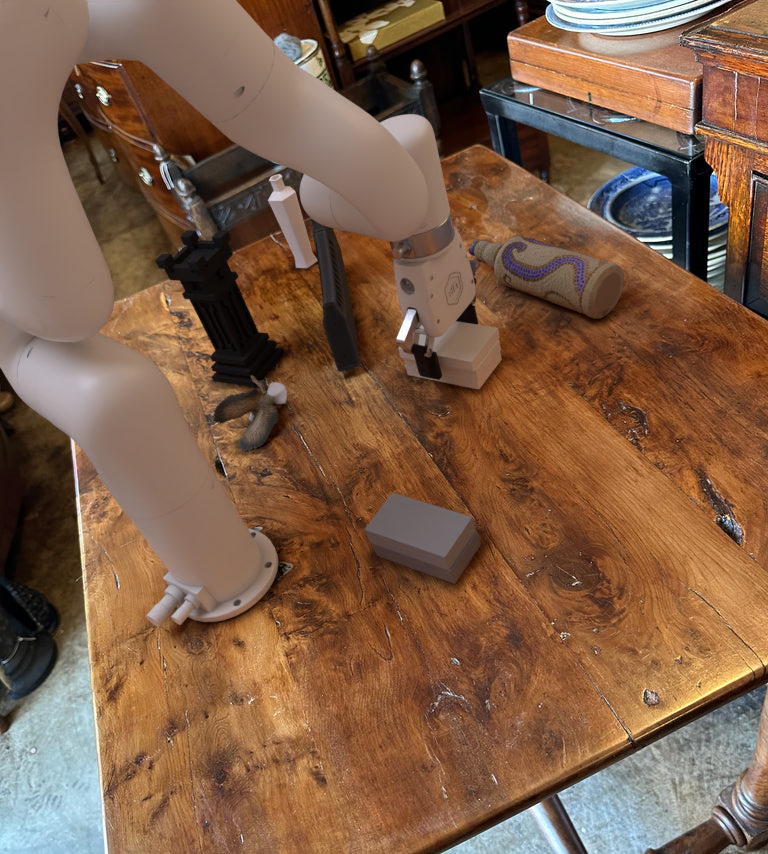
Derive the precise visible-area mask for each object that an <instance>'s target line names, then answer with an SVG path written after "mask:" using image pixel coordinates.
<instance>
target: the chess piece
mask: <svg viewBox="0 0 768 854" xmlns="http://www.w3.org/2000/svg"><path fill="white" fill-rule="evenodd" d="M179 239H180V240H181V242H182V244H183V247H182V248H181V249H180V250H179V251H178V252H177V253H176V254H175V255H174V256H173V255H172V253H161V254H160V255H159V256H158V257H157V258H156V259H155V260H154V261H155V263H156V265H157V268H158V269H160V270H164V272H165V273H166V275H167V277H168V279H169V281H179V282H180V284H181V286H182V288H183V290H184V291H183V292H182V293H181V295H182V297H183V299H184V300H189V302H190V304H191V305H192V308H193V309H194V312H195V314H196V315H197V317H198V320H199V321H200V324H201V325H202V327H203V329H204V331H205V334H206V335H207V338H208V339H209V341H210V343H211V345H212V347H213V349H214V352H213V353H212V354H211V355H210V356H209V358H210V360H211V362H214V363H213V364H212V365H211V366H210V369H211V370H212V372H213V373H214V374H213V375H211V379H212V381H213V382H217V383H224V384H231V385H238V386H245V387H251V388H257V387H258V385H257V384H256V383H254V382H253V380H252V379H251V375H252V376H254V377H255V378H256V379H257V380H258V381H259V382H260V381H262V380H264V378H265V376H267V375H268V373H269V372H270V371H271V369H272V368H273V367H274V366H275V365H276V363H277V362H278V361H279V360H280V358H281V357H282V356H283V355H284V354H285V350H284V348H283V347H277V346H278V344H277V341H276V340H273V339H270V335H269V332H260V331H259V329H258V327H257V325H256V323H255V321H254V318H253V316H252V314H251V312H250V310H249V307H248V306H247V303H246V301H245V298H244V297H243V296H244V295H243V294H242V291H241V290H240V287H239V285H238V282H237V281H236V280H237V279H239V275H238V273H237V271H232V269H231V267H230V264H229V263H228V261H229V259H230V258H231V257H233V256H234V253H233V251H232V248H231V246H230V244H229V243H230V242H231V240H232V238H231V236H230V234H229V231H228V230H218V231H217V232H216V233H215V234H214V235H212V236H211V240H206V239H205V240H204V239H200V237H199V234H198V232H197V230H191V229H189V230H188V229H187V230H186V231H184V232H183V233H182V234H181V235H180V236H179Z"/></svg>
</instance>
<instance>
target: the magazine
mask: <svg viewBox="0 0 768 854" xmlns="http://www.w3.org/2000/svg"><path fill="white" fill-rule="evenodd" d="M310 219H311V223H312V229H311V233H312V238H313V244H314V249H315V254H316V259H317V266H318V267H317V268H318V272H319V273H318V274H319V280H320V289H321V299H322V306H321V308H322V327H323V331H324V333H325V337H326V340H327V342H328V345H329V349H330V351H331V355H332V357H333V361H334V364H335V367H336V370H337V372H338V373H343V372H344V373H347V372H350V371H353V370H356V368H360V367H361V366H362V362H361V360H360V359H361V358H360V353H359V343H358V336H357V329H356V323H355V322H356V321H355V316H354V315H355V314H354V309H353V304H352V299H351V298H352V297H351V293H350V289H349V283H348V278H347V273H346V267H345V263H344V262H345V261H344V258H343V254H342V249H341V246H340V243H339V241H338V238H337V235H336V232H335V231H334V228H330V227H327V226H324V225H321V224H319V223H317V222H316V221H314V220H313V219H312V218H310Z"/></svg>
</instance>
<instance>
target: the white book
mask: <svg viewBox="0 0 768 854" xmlns="http://www.w3.org/2000/svg"><path fill="white" fill-rule="evenodd" d="M420 329H424V327H423V326H422V325H421V326H420ZM499 339H500V331H499V328H498V327H496V326H490V325H483V324H479V325H477V324H471V323H464V322H458V321H455V322H454V323H453V325H452V326H451V327H450V328H449V329H448V330H447V331H446V332H445V333H444V334H443V335H442V336H440V337H435V339H434V345H433V351H434V352H436V353H437V356H438V360H439V364H440V366H445V367H450V368H456V369H461V370H466V371H471V372H474V371H475V369H476V368H477V367H478V365H479V364H480V363H481V361H482V360H483V359H484V358H485V356H486V355H487V354H488V352H489V351H490V350H491V349H492V347H493V346H494V345H495V343H496V342H497V341H498V340H499ZM425 340H426V335H424V334H420V337H419V343H418V345H422V346H425ZM499 341H500V340H499ZM397 351H398V353H399V354H398V355H399V356H400V359H409V360H414V361H415V358H414V355H413V354H409V353H405V352H404V351H403V349H402V348H401V347H400V346H398V348H397Z"/></svg>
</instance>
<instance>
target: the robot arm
mask: <svg viewBox="0 0 768 854" xmlns="http://www.w3.org/2000/svg"><path fill="white" fill-rule="evenodd" d="M112 60H118V61H135V62H140V63H142V65H144V66H146V67H148V68H149V69H150V70H151V71H152V72H153V73H154V74H156V75H157V76H158V77H159V78H160V79H161V80H162V81H163V82H164V83H166V84H167V85H168V86H169V87H170V88H172V89H173V90H174V91H175V92H176V93H177V94H178V95H179V96H181V97H182V98H183V99H184V100H185V101H186V102H187V103H188V104H190V105H191V106H192V107H193V108H194V109H195V110H197V111H198V113H200V114H201V115H202V116H203V117H204V118H205V119H207V121H209V122H210V123H211V124H212V125H213V126H214V127H215V128H217V130H218V131H220V133H222V135H224V136H226V137H227V138H228V140H230V141H231V142H233V143H234V144H236V145H238V146H239V147H241V148H242V149H244V150H246V151H248V152H251V153H252V154H255V155H256V156H258V157H259V158H263V159H265V160H267V161H269V162H271V163H272V162H273V163H275V164H278V165H280V166H284V167H286V168H289V169H292V170H294V171H296V172H298V173H301V174H303V175H302V178H301V180H300V184H299V185H300V186H299V197H300V198H299V200H300V202H301V206H302V208H303V210H304V211H305V213H306V214H307V216H308V217H309V218H310V219H313V220H314V221H316V222H317V223H319V224H321V225H324V226H327V227H330V228H333V230H334V229H335V230H338V231H343V232H347V233H352V234H357V235H362V236H366V237H369V238H373V239H376V240H381V241H385V242H389V246H390V250H391V252H390V253H391V256H392V257H393V260H392V262H393V271H394V272H393V273H394V280H395V281H394V282H395V286H396V292H397V297H398V303H399V306H400V310H401V315H402V318H403V321H402V323H401V326H400V329H399V330H398V334H397V337H396V339H395V343H396V344H397V346H398V347H399V346H400V347H401V348H402V349H403V351H404V352H405V353H409V354H413V355H414V358H415V361H416V365H417V368H418V372H419V375H420V376H422V377H427V378H432V379H437V380H440V378H441V377H442V372H441V368H440V364H439V360H438V356H437V353H436V352H434V351H433V345H434V339H435V337H440V336H442V335H443V334H444V333H445V332H446V331H447V330H448V329H449V328H450V327H451V326H452V325H453V323H454V322H455V321H458V322H464V323H471V324H477V325H480V324H479V319H478V315H477V314H478V313H477V309H476V305H475V304H476V302H477V296H476V294H477V293H476V292H477V289H476V285H477V278H476V277H475V276H476V268H477V267H476V266H477V262H476V261H477V260H476V259H475V260H474V259H470V258H469V256H468V253H467V250H466V247H465V243H464V241H463V238H462V236H461V234H460V232H459V229H458V228H457V227H456V226H455V225H454V222H453V217H452V212H451V207H450V203H449V197H448V192H447V187H446V184H445V183H446V182H445V178H444V174H443V169H442V165H441V164H442V163H441V159H440V155H439V150H438V144H437V140H436V136H435V131H434V128H433V126H432V124H431V122H430V121H429V120H428V119H427V118H426V117H424V116H423V115H420V114H415V113H414V114H413V113H408V114H400V115H396V116H392V117H389V118H386V119H385V120H382V121H381V122H379V120H377V119H376V118H375V117H374V116H372V115H371V114H370V113H368V112H367V111H365V110H364V109H363V108H362V107H360V106H359V105H357V104H355V103H354V102H352V101H351V100H350V99H348V98H346V97H345V96H344V95H342V94H340V93H339V92H338V91H336V90H335V89H333V88H332V87H330V86H329V85H328V84H326V82H324V81H322V80H320V79H319V78H318V77H317V76H314V75H313V74H311V73H309V72H308V71H306V70H305V69H303V68H302V67H300V66H299V65H297V64H296V63H295V62H294V61H293V60H292V59H291V58H290V57H288V56H287V55H286V53H284V51H283V50H282V49H281V48H280V47H279V46H278V45H277V43H276V42H275V41H274V40H273V39H272V38H271V37H270V35H268V34H267V33H266V31H264V30H263V29H262V28H261V26H260V25H259V24H258V23H257V22H256V21H255V20H254V18H252V17H251V15H250V14H249V13H248V12H247V10H245V9H244V8H243V6H242V5H241V4H240V3H239V2H238V1H237V0H0V369H1V371H2V373H3V374H4V376H5V378H6V380H7V381H8V383H9V384H10V386H11V387H12V389H13V390H14V392H15V393H16V395H17V396H18V397H19V398H20V399H21V400H22V401H23V403H24V404H26V405H27V406H28V407H29V408H30V409H32V410H33V411H34V412H36V413H37V414H38V415H40V416H41V417H43V418H44V419H45V420H47V421H49V423H51V424H52V425H53V426H55V428H57V429H58V430H60V431H62V432H63V433H64V434H66V435H67V436H68V437H69V438H70V439H71V440H73V441H74V443H75V444H76V445H77V446H78V447H79V448H80V449H81V450H82V451H83V453H84V454H85V455H86V456H87V458H88V459H89V461H90V463H91V464H92V466H93V467H94V469H95V471H96V473H97V475H98V476H99V478H100V480H101V482H102V484H103V485H104V486H105V488H106V489H107V491H108V492H109V494H110V495H111V496H112V498H113V499H114V500H115V502H116V503H117V504H118V506H119V507H120V508H121V510H122V511H123V512H124V513H125V514H126V516H127V517H128V519H129V520H130V521H131V522H132V524H133V525H134V526H135V528H136V529H137V531H139V533H140V535H141V536H142V537H143V539H144V540H145V541H146V542H147V545H149V547H150V548H151V549H152V551H153V552H154V554H155V555H156V556H157V557H158V559H159V560H160V561H161V563H162V564H163V566H164V567H165V568H166V570H167V573H166V574H165V575H164V576H163V577H162V579H163V580H164V582H165V583H166V585H168V586H167V587H166V588H165V590H164V591H163V594H164V596H163V597H162V599H160V600H159V602H158V603H156V604H155V605H154V606H153V607H152V608H151V609H150V610H149V611H148V613H147V614H146V615H145V618H146V619H147V620H148V621H149V622H150V623H151V624H152V625H154V626H156V628H161V627H162V626H163V624H164V623H165V622H166V621H167V620H168V619H169V618H171V620H172V621H173V622H174V623H176V625H179V626H181V625H183V623H184V622H185V621H186V620H187V618H188V619H191V620H194V621H197V622H203V623H215V622H221V621H225V620H228V619H231V618H234V617H237V616H238V615H241V614H243V613H244V612H246V611H247V610H249V609H250V608H252V607H253V606H254V605H255V604H257V603H258V602H259V601H260V600H261V599H262V598H263V597H264V596H265V595H266V593H267V592H268V591H269V590H270V588H271V586H272V585H273V583H274V581H275V578H276V576H277V573H278V570H279V555H278V553H277V549H276V548H275V546H274V544H273V542H272V541H271V539H269V537H268V536H266V535H265V534H264V533H262V532H261V531H259V530H256V529H253V528H248V526H247V525H246V523H245V522H244V520H243V518H242V517H241V515H240V513H239V512H238V510H237V508H236V506H235V504H234V502H233V501H232V499H231V498H230V496H229V494H228V493H227V491H226V489H225V487H224V486H223V484H222V482H221V481H220V479H219V477H218V476H217V474H216V472H215V471H214V468H212V466H211V463H210V462H209V460H208V458H207V457H206V456H205V453H204V452H203V450H202V449H201V447H200V446H199V444H198V442H197V440H196V439H195V437H194V435H193V433H192V430H191V429H190V427H189V424H188V422H187V421H186V418H185V415H184V413H183V410H182V407H181V405H180V402H179V399H178V395H177V394H176V392H175V389H174V387H173V385H172V383H171V382H170V380H169V378H168V377H167V376H166V374H165V373H164V372H163V371H162V370H161V368H159V366H158V365H157V364H156V363H154V362H153V361H152V360H151V359H150V358H148V357H147V356H146V355H144V354H143V353H141V352H139V351H138V350H136V349H134V348H133V347H132V346H129V345H127V344H125V343H123V342H121V341H119V340H117V339H115V338H113V337H111V336H108V335H106V334H103V333H102V332H100V331H102V330H103V329H104V328H105V327H106V325H107V324H108V322H110V319H111V317H112V314H113V310H114V307H115V287H114V282H113V278H112V275H111V271H110V268H109V266H108V263H107V260H106V258H105V256H104V254H103V251H102V249H101V246H100V244H99V242H98V240H97V238H96V234H95V233H94V230H93V227H92V225H91V223H90V221H89V219H88V216H87V213H86V211H85V209H84V207H83V205H82V202H81V199H80V197H79V195H78V192H77V190H76V187H75V186H74V185H75V184H74V183H73V180H72V177H71V174H70V171H69V168H68V164H67V162H66V160H65V157H64V153H63V150H62V146H61V142H60V136H59V126H58V125H59V124H58V123H59V120H58V119H59V111H60V103H61V100H62V96H63V92H64V89H65V87H66V85H67V83H68V79H69V77H70V76H71V74H72V72H73V70H74V68H75V67H76V65H83V64H89V63H97V62H105V61H112ZM421 325H422V326H423V327H424V329H420V326H421ZM420 334H424V335H426V340H425V346H422V345H418V343H419V337H420ZM176 608H177V609H176ZM175 609H176V610H175ZM174 610H175V612H174V613H173V614H172V612H173V611H174Z"/></svg>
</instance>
